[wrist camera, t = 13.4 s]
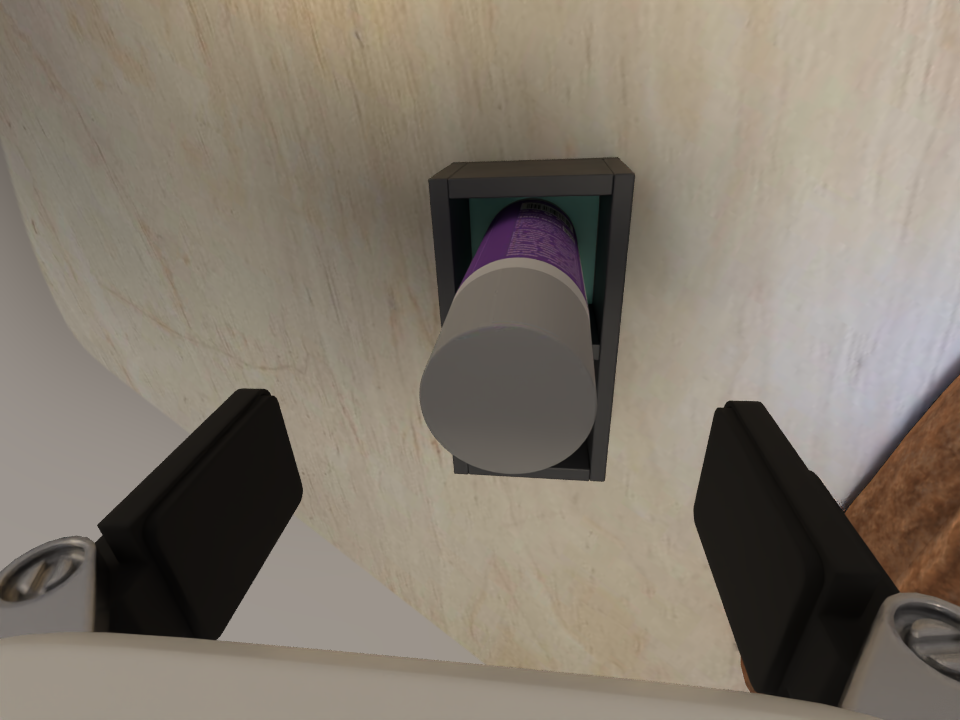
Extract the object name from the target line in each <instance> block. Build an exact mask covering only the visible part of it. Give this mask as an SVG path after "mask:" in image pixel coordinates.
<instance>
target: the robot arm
mask: <svg viewBox="0 0 960 720" xmlns="http://www.w3.org/2000/svg"><path fill="white" fill-rule="evenodd" d="M302 494H303V487H302V483H301V479H300V476H299V472H298V469H297V465H296V462H295V458H294V455H293V451H292V448H291V444H290V441H289V437H288V434H287V430H286V427H285V423H284V420H283V416H282V413H281V409H280V406H279V402H278V400H277V398H276V397H275V396H271V394H270V392H269V391H268V390H266V389H238V390H237V391H235V392H234V393H233V394H232V395H231V396H230V397H229V398H228V399H227V400H226V401H225V402H224V403H223V404H222V405H221V406H220V407H219V408H218V409H217V410H216V411H215V412H214V413H213V414H211V415H210V416H209V417H208V418H207V419H206V420H205V421H204V422H203V423H202V424H201V425H200V426H199V427H198V428H197V429H196V430H195V431H194V432H193V433H192V434H191V435H190V436H189V437H188V438H187V439H186V440H185V441H184V442H183V443H182V444H181V445H179V447H177V448H176V449H175V450H174V451H173V452H172V453H171V454H170V455H169V456H168V457H167V458H166V459H165V460H164V461H163V462H162V463H161V464H160V465H159V466H158V467H157V468H156V469H155V470H154V471H153V472H152V473H151V474H149V475H148V476H147V477H146V478H145V479H144V480H143V481H142V482H141V483H140V484H139V485H138V486H137V487H136V488H135V489H134V490H133V491H132V492H131V493H130V494H129V495H128V496H127V497H126V498H125V499H124V500H123V501H122V502H121V503H120V504H118V505H117V506H116V507H115V508H114V509H113V510H112V511H111V512H110V513H109V514H108V515H107V516H106V517H105V518H104V519H103V520H102V521H101V522H100V523H99V524H98V525H97V526H98V528H99V529H100V531H101V533H102V537H100V538H99V539H98V541H96V542H95V543H94V542H93V541H92V540H90V539H89V538H87V537H81V536H71V537H63V538H59V539H57V540H53V541H49V542H47V543H44V544H42V545H40V546H38V547H36V548H33V549H31V550H30V551H28V552H26V553H25V554H23V555H21V556H20V557H18V558H17V559H15V560H14V561H13V562H11V563H10V564H9V565H8V566H6V567H5V568H4V569H3V570H2V571H1V572H0V720H960V607H959V606H957V605H954V604H952V603H949V602H947V601H944V600H942V599H940V598H937V597H934V596H929V595H925V594H920V593H900V591H899V590H898V588H897V587H896V586H895V584H894V583H893V581H892V580H891V578H890V577H889V576H888V574H887V573H886V571H885V570H884V569H883V567H882V566H881V564H880V563H879V562H878V560H877V559H876V557H875V556H874V555H873V553H872V552H871V550H870V549H869V548H868V546H867V545H866V543H865V542H864V540H863V539H862V538H861V536H860V535H859V533H858V532H857V531H856V529H855V528H854V526H853V525H852V524H851V522H850V521H849V519H848V518H847V517H846V515H845V514H844V512H843V511H842V509H841V508H840V507H839V505H838V504H837V502H836V501H835V500H834V498H833V497H832V495H831V494H830V493H829V491H828V490H827V488H826V487H825V486H824V484H823V483H822V481H821V480H820V478H819V477H818V476H817V475H816V474H815V473H814V472H812V471H810V470H808V468H807V467H806V465H805V464H804V462H803V461H802V459H801V458H800V457H799V455H798V454H797V452H796V451H795V449H794V448H793V447H792V445H791V444H790V442H789V441H788V439H787V438H786V437H785V435H784V434H783V432H782V431H781V429H780V428H779V427H778V425H777V424H776V422H775V421H774V419H773V418H772V416H771V415H770V414H769V412H768V411H767V409H766V408H765V406H764V405H763V404H762V403H761V402H758V401H728V402H727V403H726V404H725V406H724V408H717V409H716V411H715V413H714V417H713V422H712V426H711V431H710V435H709V440H708V445H707V449H706V454H705V458H704V463H703V467H702V472H701V476H700V481H699V485H698V490H697V494H696V499H695V503H694V521H695V525H696V528H697V531H698V534H699V537H700V540H701V543H702V545H703V548H704V551H705V554H706V557H707V560H708V563H709V566H710V568H711V571H712V574H713V577H714V580H715V583H716V586H717V589H718V592H719V594H720V597H721V600H722V603H723V606H724V609H725V612H726V615H727V617H728V620H729V623H730V626H731V629H732V632H733V635H734V638H735V640H736V643H737V646H738V649H739V652H740V655H741V658H742V661H743V664H744V666H745V669H746V672H747V675H748V678H749V681H750V683H751V686H752V688H753V689H754V691H755V692H757V693H749V692H741V691H732V690H724V689H715V688H706V687H698V686H689V685H681V684H672V683H663V682H655V681H645V680H635V679H624V678H614V677H604V676H594V675H584V674H574V673H564V672H554V671H543V670H533V669H523V668H513V667H503V666H493V665H482V664H471V663H460V662H450V661H439V660H428V659H418V658H408V657H396V656H386V655H375V654H364V653H353V652H342V651H332V650H320V649H309V648H297V647H286V646H275V645H264V644H252V643H240V642H229V641H218V640H217V639H218V638H219V637H220V636H221V634H222V633H223V631H224V629H225V628H226V626H227V624H228V623H229V621H230V619H231V618H232V616H233V614H234V612H235V611H236V609H237V608H238V606H239V604H240V603H241V601H242V599H243V598H244V596H245V594H246V592H247V591H248V589H249V587H250V585H251V584H252V582H253V581H254V579H255V577H256V576H257V574H258V572H259V571H260V569H261V567H262V566H263V564H264V562H265V561H266V559H267V557H268V556H269V554H270V552H271V550H272V549H273V547H274V545H275V544H276V542H277V540H278V539H279V537H280V535H281V533H282V532H283V530H284V529H285V527H286V525H287V524H288V522H289V520H290V519H291V517H292V515H293V514H294V512H295V510H296V509H297V507H298V505H299V504H300V501H301V499H302ZM758 693H763V694H758Z"/></svg>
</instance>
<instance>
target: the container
mask: <svg viewBox="0 0 960 720" xmlns="http://www.w3.org/2000/svg"><path fill="white" fill-rule="evenodd" d="M420 405H421V410H422V413H423V416H424V419H425V422H426V424H427V426H428V427H429V429H430V431H431V433H432V434H433V435H434V437H435V438H436V439H437V440H438V442H439V443H440V444H441V445H442V446H443V447H444V448H445V449H446V450H448V451H449V452H450V453H451V454H453V455H454V456H456V457H457V458H459V459H460V460H462V461H464V462H466V463H468V464H470V465H472V466H475V467H477V468H480V469H484V470H487V471H491V472H497V473H505V474H522V473H530V472H535V471H539V470H543V469H546V468H549V467H551V466H553V465H556V464H558V463H560V462H561V461H563V460H565V459H566V458H567V457H569V456H570V455H572V454H573V453H574V452H575V451H576V450H577V449H578V448H579V447H580V446H581V445H582V444H583V442H584V441H585V440H586V438H587V437H588V435H589V433H590V431H591V429H592V427H593V424H594V421H595V418H596V412H597V394H596V383H595V372H594V361H593V351H592V340H591V329H590V316H589V309H588V303H587V297H586V291H585V285H584V279H583V273H582V267H581V261H580V255H579V249H578V242H577V237H576V232H575V229H574V226H573V224H572V222H571V220H570V218H569V217H568V216H567V214H566V213H565V212H564V211H563V210H562V209H561V208H559V207H558V206H557V205H555V204H553V203H551V202H549V201H546V200H543V199H537V198H527V199H521V200H518V201H515V202H513V203H510V204H509V205H507V206H506V207H504V208H503V209H502V210H501V211H500V212H499V213H498V214H497V215H496V216H495V218H494V219H493V221H492V222H491V224H490V226H489V228H488V230H487V232H486V234H485V236H484V238H483V240H482V242H481V244H480V246H479V248H478V250H477V252H476V254H475V256H474V258H473V260H472V262H471V264H470V266H469V268H468V270H467V272H466V274H465V276H464V278H463V280H462V282H461V284H460V286H459V288H458V290H457V292H456V294H455V297H454V299H453V302H452V304H451V307H450V309H449V312H448V314H447V317H446V319H445V321H444V324H443V326H442V329H441V331H440V334H439V336H438V338H437V341H436V343H435V346H434V348H433V351H432V353H431V356H430V358H429V360H428V363H427V365H426V368H425V370H424V373H423V375H422V379H421V384H420Z"/></svg>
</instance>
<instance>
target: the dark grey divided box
mask: <svg viewBox="0 0 960 720" xmlns="http://www.w3.org/2000/svg"><path fill="white" fill-rule="evenodd" d="M428 182H429V194H430V205H431V216H432V227H433V239H434V250H435V261H436V272H437V284H438V295H439V306H440V318H441V329H442V326H443V324H444V321H445V319H446V317H447V314H448V312H449V309H450V307H451V304H452V302H453V299H454V297H455V294H456V292H457V290H458V288H459V286H460V284H461V282H462V280H463V278H464V276H465V274H466V272H467V270H468V268H469V266H470V264H471V262H472V260H473V258H474V256H475V254H476V252H477V250H478V248H479V246H480V244H481V242H482V240H483V238H484V236H485V234H486V232H487V230H488V228H489V226H490V224H491V222H492V221H493V219H494V218H495V216H496V215H497V214H498V213H499V212H500V211H501V210H502V209H503V208H504V207H506V206H507V205H509V204H510V203H513V202H515V201H518V200H521V199H527V198H537V199H543V200H546V201H549V202H551V203H553V204H555V205H557V206H558V207H559V208H561V209H562V210H563V211H564V212H565V213H566V214H567V216H568V217H569V218H570V220H571V222H572V224H573V226H574V229H575V232H576V237H577V242H578V249H579V255H580V261H581V267H582V273H583V279H584V285H585V291H586V297H587V303H588V309H589V316H590V329H591V340H592V351H593V361H594V372H595V383H596V394H597V412H596V418H595V421H594V424H593V427H592V429H591V431H590V433H589V435H588V437H587V438H586V440H585V441H584V442H583V444H582V445H581V446H580V447H579V448H578V449H577V450H576V451H575V452H574V453H573V454H572V455H570V456H569V457H567V458H566V459H565V460H563V461H561V462H560V463H558V464H556V465H553V466H551V467H549V468H546V469H543V470H539V471H535V472H530V473H522V474H505V473H497V472H491V471H487V470H484V469H480V468H477V467H475V466H472V465H470V464H468V463H466V462H464V461H462V460H460V459H459V458H457V457H456V456H454V455H453V464H454V473H455V474H468V473H469V474H475V475H492V476H510V477H528V478H546V479H563V480H581V481H589V479H590V481H601V482H603V481H605V473H606V463H607V453H608V443H609V433H610V423H611V413H612V403H613V393H614V383H615V373H616V363H617V353H618V343H619V333H620V323H621V313H622V303H623V292H624V282H625V272H626V262H627V252H628V242H629V232H630V222H631V212H632V202H633V192H634V182H635V174H634V173H633V172H632V171H631V170H630V169H629V168H628V167H627V166H626V165H625V164H624V163H623V162H622V161H621V160H620V158H618V157H613V158H581V159H550V160H518V161H487V162H455V163H452V164H450V165H449V166H447V167H446V168H444V169H443V170H441V171H440V172H439V173H437V174H436V175H434V176H433V177H431V178H430V179H429V180H428Z"/></svg>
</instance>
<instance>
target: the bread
mask: <svg viewBox="0 0 960 720" xmlns="http://www.w3.org/2000/svg"><path fill="white" fill-rule="evenodd" d="M844 514H845V515H846V517H847V518H848V519H849V521H850V522H851V524H852V525H853V526H854V528H855V529H856V531H857V532H858V533H859V535H860V536H861V538H862V539H863V540H864V542H865V543H866V545H867V546H868V548H869V549H870V550H871V552H872V553H873V555H874V556H875V557H876V559H877V560H878V562H879V563H880V564H881V566H882V567H883V569H884V570H885V571H886V573H887V574H888V576H889V577H890V578H891V580H892V581H893V583H894V584H895V586H896V587H897V588H898V590H899V591H900V593H920V594H925V595H929V596H934V597H937V598H940V599H942V600H944V601H947V602H949V603H952V604H954V605H957V606H959V607H960V375H959V376H958V377H957V378H956V379H955V380H954V381H953V382H952V383H951V384H950V385H949V387H948V388H947V389H946V390H945V391H944V392H943V393H942V394H941V395H940V397H939V398H938V399H937V400H936V401H935V402H934V404H933V405H932V406H931V407H930V408H929V409H928V411H927V412H926V413H925V414H924V415H923V416H922V418H921V419H920V420H919V421H918V422H917V423H916V425H915V426H914V427H913V428H912V429H911V430H910V432H909V433H908V434H907V435H906V436H905V438H904V439H903V440H902V442H901V443H900V444H899V445H898V447H897V448H896V449H895V451H894V452H893V453H892V455H891V456H890V457H889V459H888V460H887V461H886V462H885V464H884V465H883V466H882V467H881V469H880V470H879V471H878V473H877V474H876V475H875V476H874V478H873V479H872V480H871V481H870V483H869V484H868V485H867V486H866V487H865V488H864V490H863V491H862V492H861V493H860V494H859V495H858V497H857V498H856V499H855V500H854V501H853V502H852V504H851V505H850V506H849V508H848V509H847V511H846V512H845V513H844ZM741 668H742V671H743V675H744V679H745V683H746V686H747V687H748V689H749V691H750V693H757V692H755V691H754V689H753V688H752V686H751V683H750V681H749V678H748V675H747V672H746V669H745V666H744V664H743V661H742V658H741ZM758 694H763V693H758Z"/></svg>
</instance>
